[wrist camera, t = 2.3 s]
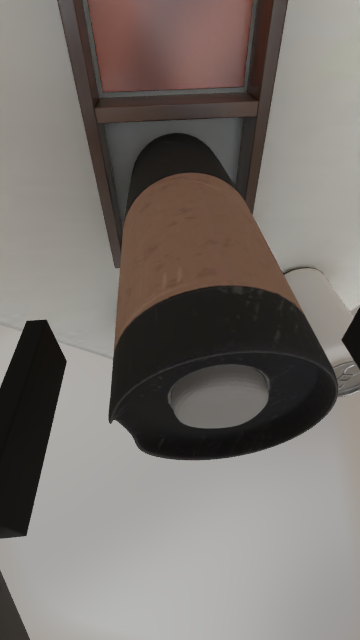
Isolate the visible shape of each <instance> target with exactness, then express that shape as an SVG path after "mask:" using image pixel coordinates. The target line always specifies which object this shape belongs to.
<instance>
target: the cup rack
mask: <svg viewBox="0 0 360 640" xmlns="http://www.w3.org/2000/svg"><path fill="white" fill-rule="evenodd" d="M57 1H58V6H59V10H60V15H61V20H62V24H63V29H64V34H65V38H66V43H67V47H68V52H69V57H70V61H71V66H72V71H73V75H74V80H75V85H76V89H77V94H78V98H79V103H80V108H81V112H82V117H83V122H84V126H85V131H86V135H87V140H88V145H89V149H90V154H91V159H92V163H93V168H94V173H95V177H96V182H97V186H98V191H99V196H100V200H101V205H102V210H103V214H104V219H105V224H106V228H107V233H108V237H109V242H110V247H111V251H112V256H113V261H114V265H115V268H120V263H121V250H122V236H123V231H122V225H121V219H120V214H119V208H118V202H117V196H116V191H115V185H114V179H113V173H112V168H111V162H110V156H109V150H108V145H107V139H106V133H105V128H104V123H118V122H141V121H164V120H186V119H209V118H232V117H244V122H243V131H242V140H241V148H240V157H239V166H238V174H237V183H236V188H237V190H238V191H239V193H240V194H241V196H242V198H243V199H244V201H245V203H246V205H247V206H248V208H249V210H250V212H251V214H252V215H253V209H254V203H255V197H256V191H257V185H258V179H259V173H260V167H261V161H262V155H263V148H264V142H265V136H266V130H267V124H268V118H269V112H270V106H271V100H272V94H273V88H274V82H275V76H276V70H277V64H278V58H279V52H280V46H281V40H282V34H283V28H284V22H285V16H286V10H287V4H288V0H258V1H257V10H256V19H255V27H254V36H253V45H252V53H251V62H250V70H249V79H248V88H247V92H238V93H213V94H188V95H163V96H138V97H113V98H100V99H99V93H98V87H97V82H96V76H95V70H94V65H93V59H92V53H91V47H90V42H89V36H88V30H87V24H86V19H85V13H84V7H83V1H82V0H57ZM252 3H253V0H88V6H89V12H90V18H91V24H92V30H93V36H94V42H95V48H96V54H97V60H98V66H99V72H100V78H101V84H102V90H103V92H127V91H152V90H178V89H203V88H229V87H244V78H245V68H246V59H247V50H248V41H249V31H250V22H251V13H252Z"/></svg>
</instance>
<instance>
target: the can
mask: <svg viewBox="0 0 360 640" xmlns="http://www.w3.org/2000/svg"><path fill="white" fill-rule="evenodd" d="M284 276H285V278H286V280H287V282H288V284H289V286H290V288H291V290H292V292H293V293H294V295H295V297H296V299H297V301H298V303H299V305H300V307H301V309H302V311H303V312H304V314H305V316H306V318H307V320H308V322H309V324H310V326H311V328H312V329H313V331H314V333H315V335H316V337H317V339H318V341H319V343H320V345H321V346H322V348H323V350H324V352H325V354H326V356H327V358H328V360H329V362H330V363H331V365H332V367H333V370H334V372H335V375H336V378H337V382H338V396H337V397H343V396H347V395H350V394H353V393H356V392H358V391H360V370H359V368H358V366H357V365H356V363H355V361H354V360H353V358H352V357H351V355H350V353H349V352H348V350H347V348H346V347H345V345H344V344H343V342H342V340H341V339H342V338H343V336H344V334H345V332H346V331H347V329H348V327H349V325H350V324H351V322H352V320H353V318H354V317H353V316H352V314H351V313H350V311H349V310H348V309H347V307H346V306H345V304H344V303H343V301H342V300H341V299H340V297H339V296H338V294H337V293H336V292H335V290H334V289H333V287H332V286H331V285H330V283H329V282H328V280H327V279H326V278H325V276H324V275H323V274H322V273H321V272H320V271H318V270H316V269H310V268H303V269H296V270H292V271H290V272H287V273H285V274H284Z"/></svg>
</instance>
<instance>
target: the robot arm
mask: <svg viewBox="0 0 360 640" xmlns="http://www.w3.org/2000/svg"><path fill="white" fill-rule="evenodd" d="M341 340H342V342H343V344H344V345H345V347H346V348H347V350H348V352H349V353H350V355H351V357H352V358H353V360H354V361H355V363H356V365H357V366H358V368H359V370H360V308H359V310H358V311H357V313H356V315H355V317H354V318H353V320H352V322H351V324H350V325H349V327H348V329H347V331H346V332H345V334H344V336H343V338H342V339H341ZM66 362H67V361H66V359H65V357H64V355H63V353H62V351H61V349H60V347H59V344H58V342H57V340H56V338H55V336H54V334H53V332H52V330H51V328H50V326H49V324H48V322H47V320H34V321H27V322H26V324H25V327H24V329H23V332H22V334H21V337H20V339H19V342H18V344H17V347H16V349H15V352H14V355H13V357H12V359H11V362H10V365H9V367H8V370H7V372H6V375H5V377H4V380H3V382H2V385H1V388H0V538H11V537H21V536H26V535H27V530H28V526H29V522H30V518H31V513H32V509H33V505H34V500H35V496H36V492H37V487H38V483H39V479H40V474H41V470H42V466H43V461H44V457H45V453H46V448H47V444H48V440H49V436H50V431H51V427H52V423H53V418H54V414H55V410H56V405H57V401H58V396H59V392H60V388H61V384H62V379H63V375H64V371H65V366H66ZM0 640H30V638H29V636H28V634H27V632H26V629H25V627H24V624H23V622H22V620H21V618H20V615H19V613H18V611H17V608H16V606H15V604H14V601H13V599H12V597H11V594H10V592H9V590H8V588H7V585H6V583H5V580H4V578H3V576H2V573H1V571H0Z"/></svg>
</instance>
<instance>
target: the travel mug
mask: <svg viewBox="0 0 360 640" xmlns="http://www.w3.org/2000/svg"><path fill="white" fill-rule="evenodd" d="M337 396H338V382H337V378H336V375H335V372H334V370H333V367H332V365H331V363H330V362H329V360H328V358H327V356H326V354H325V352H324V350H323V348H322V346H321V345H320V343H319V341H318V339H317V337H316V335H315V333H314V331H313V329H312V328H311V326H310V324H309V322H308V320H307V318H306V316H305V314H304V312H303V311H302V309H301V307H300V305H299V303H298V301H297V299H296V297H295V295H294V293H293V292H292V290H291V288H290V286H289V284H288V282H287V280H286V278H285V276H284V275H283V273H282V271H281V269H280V267H279V265H278V263H277V261H276V259H275V257H274V256H273V254H272V252H271V250H270V248H269V246H268V244H267V242H266V240H265V239H264V237H263V235H262V233H261V231H260V229H259V227H258V225H257V223H256V221H255V220H254V218H253V216H252V214H251V212H250V210H249V208H248V206H247V205H246V203H245V201H244V199H243V198H242V196H241V194H240V193H239V191H238V190H237V188H236V187H235V185H234V184H233V182H232V180H231V179H230V177H229V176H228V174H227V173H226V171H225V170H224V168H223V167H222V165H221V163H220V162H219V160H218V159H217V157H216V156H215V155H214V153H213V152H212V151H211V149H210V148H209V147H208V146H207V145H206V144H205V143H204V142H202V141H201V140H199V139H197V138H195V137H193V136H191V135H187V134H182V133H173V134H167V135H164V136H161V137H159V138H157V139H155V140H153V141H152V142H150V143H149V144H148V145H147V146H146V147H145V148H144V149H143V150H142V151H141V153H140V154H139V156H138V158H137V160H136V162H135V165H134V168H133V171H132V176H131V182H130V188H129V195H128V201H127V207H126V214H125V220H124V226H123V236H122V250H121V263H120V277H119V290H118V304H117V317H116V331H115V344H114V358H113V371H112V384H111V398H110V406H109V423H110V424H111V423H112V421H113V420H116V421H118V422H119V423H120V424H121V425H123V426H124V427H125V428H126V429H127V430H128V431H129V433H130V434H131V435H132V436H133V438H134V440H135V443H136V445H137V446H138V448H139V449H140V450H141V451H143V452H145V453H147V454H149V455H153V456H156V457H161V458H167V459H176V460H211V459H221V458H229V457H235V456H240V455H245V454H250V453H254V452H257V451H261V450H264V449H267V448H271V447H274V446H276V445H279V444H281V443H284V442H286V441H288V440H291V439H293V438H295V437H297V436H299V435H300V434H302V433H304V432H306V431H307V430H309V429H310V428H312V427H313V426H315V425H316V424H317V423H318V422H320V421H321V419H323V418H324V417H325V416H326V415H327V414H328V412H329V411H330V410H331V409H332V407H333V406H334V404H335V402H336V399H337Z"/></svg>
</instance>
